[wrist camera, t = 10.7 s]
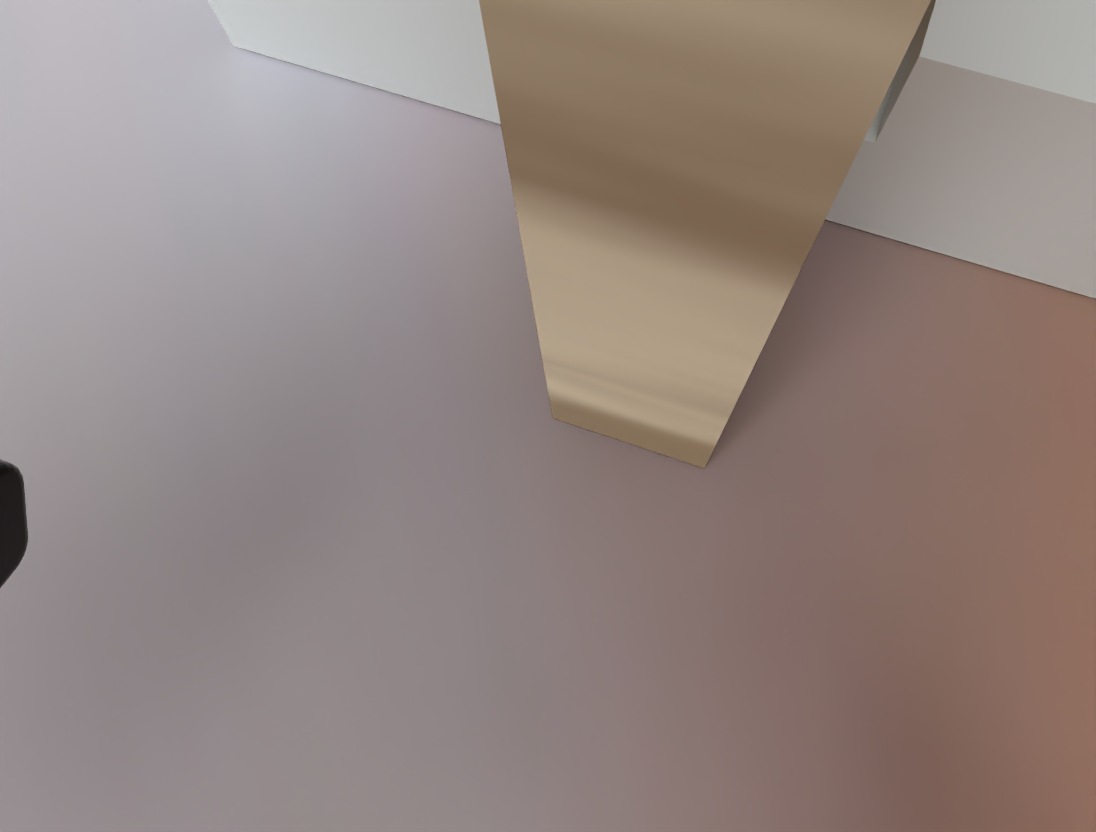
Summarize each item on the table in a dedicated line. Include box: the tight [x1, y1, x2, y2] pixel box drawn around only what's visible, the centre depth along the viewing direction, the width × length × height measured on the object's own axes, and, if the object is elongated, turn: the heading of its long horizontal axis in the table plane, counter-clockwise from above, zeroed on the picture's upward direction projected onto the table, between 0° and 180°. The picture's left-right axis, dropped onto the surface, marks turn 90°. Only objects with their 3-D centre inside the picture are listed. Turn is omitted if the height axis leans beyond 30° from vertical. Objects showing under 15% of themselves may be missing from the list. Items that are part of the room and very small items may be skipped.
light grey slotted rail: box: [208, 0, 1096, 299], centre depth 15 cm, size 18×2×4 cm, turn 70°
